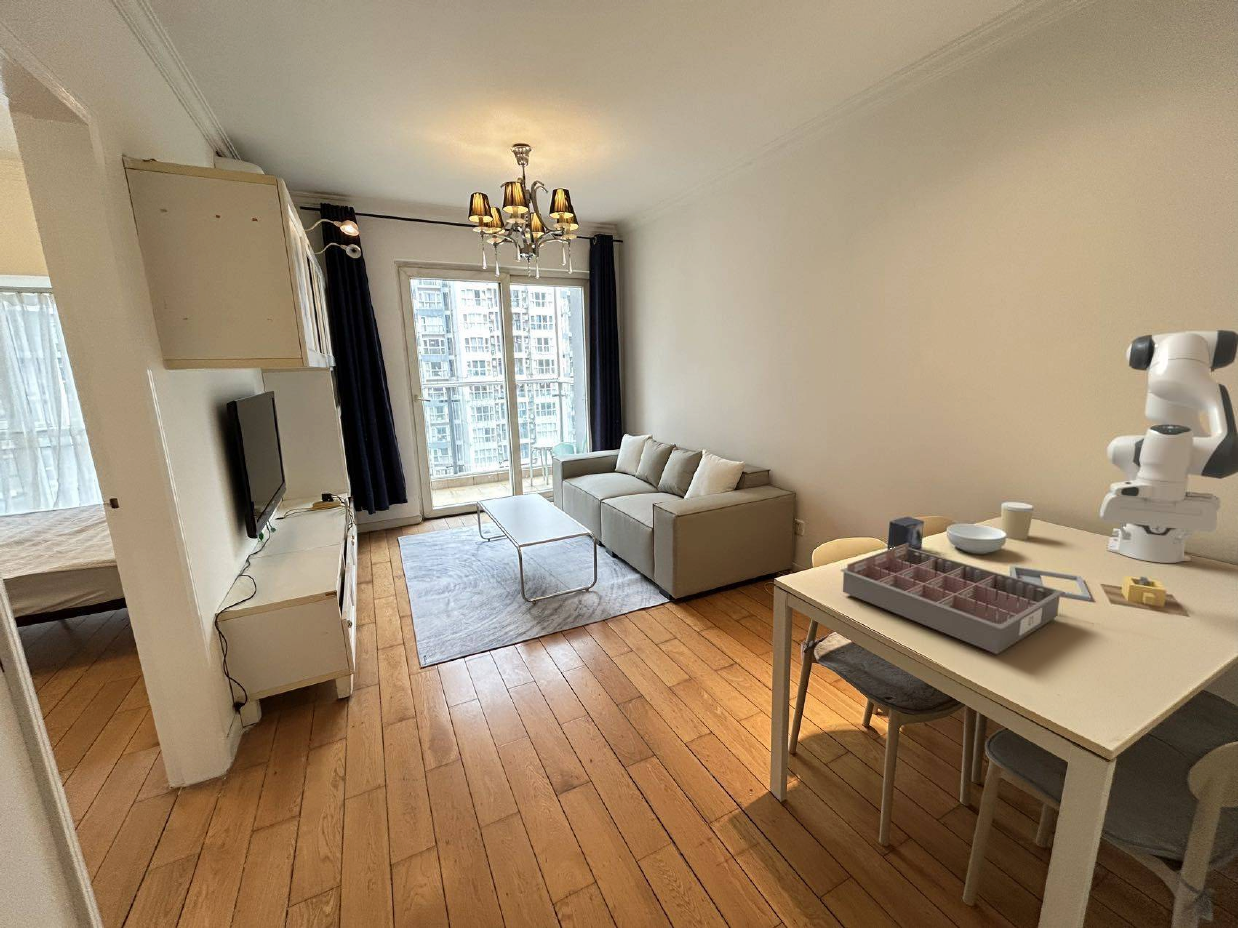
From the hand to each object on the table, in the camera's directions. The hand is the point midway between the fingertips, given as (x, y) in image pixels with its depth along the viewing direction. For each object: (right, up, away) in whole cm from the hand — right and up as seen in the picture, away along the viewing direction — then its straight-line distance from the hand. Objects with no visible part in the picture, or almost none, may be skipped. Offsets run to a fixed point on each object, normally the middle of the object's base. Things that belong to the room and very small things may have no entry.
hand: (1151, 542), depth 128 cm
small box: (-36, -10, +48) cm, 61 cm away
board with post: (+1, -17, +3) cm, 17 cm away
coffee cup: (+9, -7, +56) cm, 57 cm away
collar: (0, -16, +2) cm, 16 cm away
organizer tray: (-50, -19, +6) cm, 54 cm away
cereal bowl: (-14, -10, +45) cm, 48 cm away
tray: (-15, -15, +14) cm, 26 cm away
